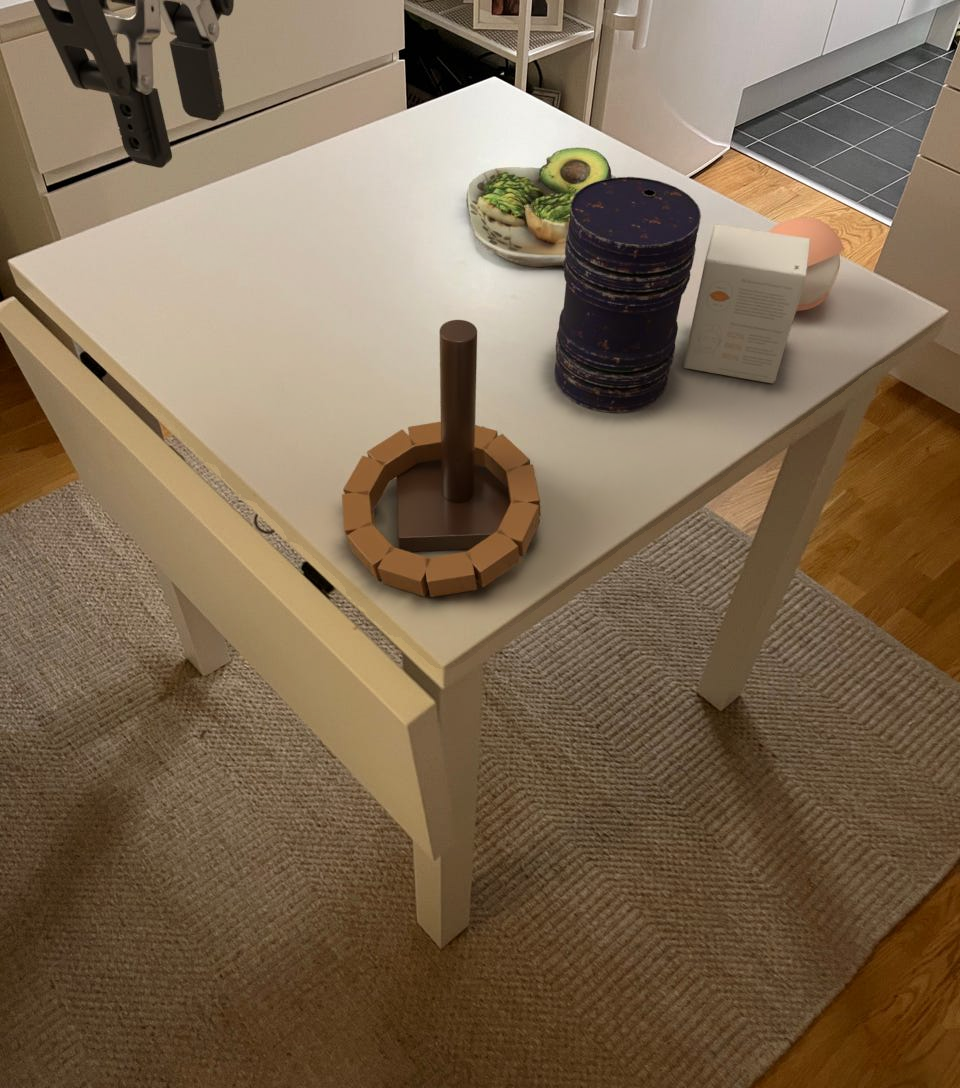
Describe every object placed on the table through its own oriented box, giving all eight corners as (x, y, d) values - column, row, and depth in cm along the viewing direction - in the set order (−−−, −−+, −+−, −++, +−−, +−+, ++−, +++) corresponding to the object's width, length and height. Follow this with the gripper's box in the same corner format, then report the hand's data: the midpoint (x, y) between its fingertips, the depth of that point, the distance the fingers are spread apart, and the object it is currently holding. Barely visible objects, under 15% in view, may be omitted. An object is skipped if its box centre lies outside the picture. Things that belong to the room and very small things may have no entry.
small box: (780, 348, 88) (814, 237, 80) (774, 386, 85) (809, 275, 76) (690, 331, 89) (714, 221, 81) (680, 369, 86) (705, 257, 78)
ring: (355, 609, 69) (349, 594, 68) (342, 454, 76) (337, 437, 75) (553, 578, 69) (552, 562, 68) (522, 426, 76) (521, 408, 74)
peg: (399, 552, 72) (388, 377, 60) (396, 467, 78) (386, 291, 65) (522, 547, 73) (536, 373, 60) (511, 463, 78) (522, 287, 66)
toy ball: (783, 338, 89) (808, 257, 83) (725, 295, 93) (745, 215, 87) (846, 310, 92) (875, 230, 86) (787, 270, 96) (810, 190, 89)
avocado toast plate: (661, 285, 94) (669, 240, 90) (472, 287, 93) (472, 241, 89) (632, 181, 105) (638, 137, 102) (464, 181, 105) (464, 137, 101)
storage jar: (643, 428, 81) (675, 260, 69) (534, 391, 84) (547, 224, 72) (684, 361, 87) (720, 196, 75) (580, 329, 89) (599, 164, 77)
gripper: (105, -330, 45) (186, 72, 58) (-114, -263, 36) (39, 188, 50) (254, -314, 43) (301, 95, 57) (62, -240, 35) (171, 218, 48)
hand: (178, 137), depth 53 cm, fingers open, 5 cm apart
